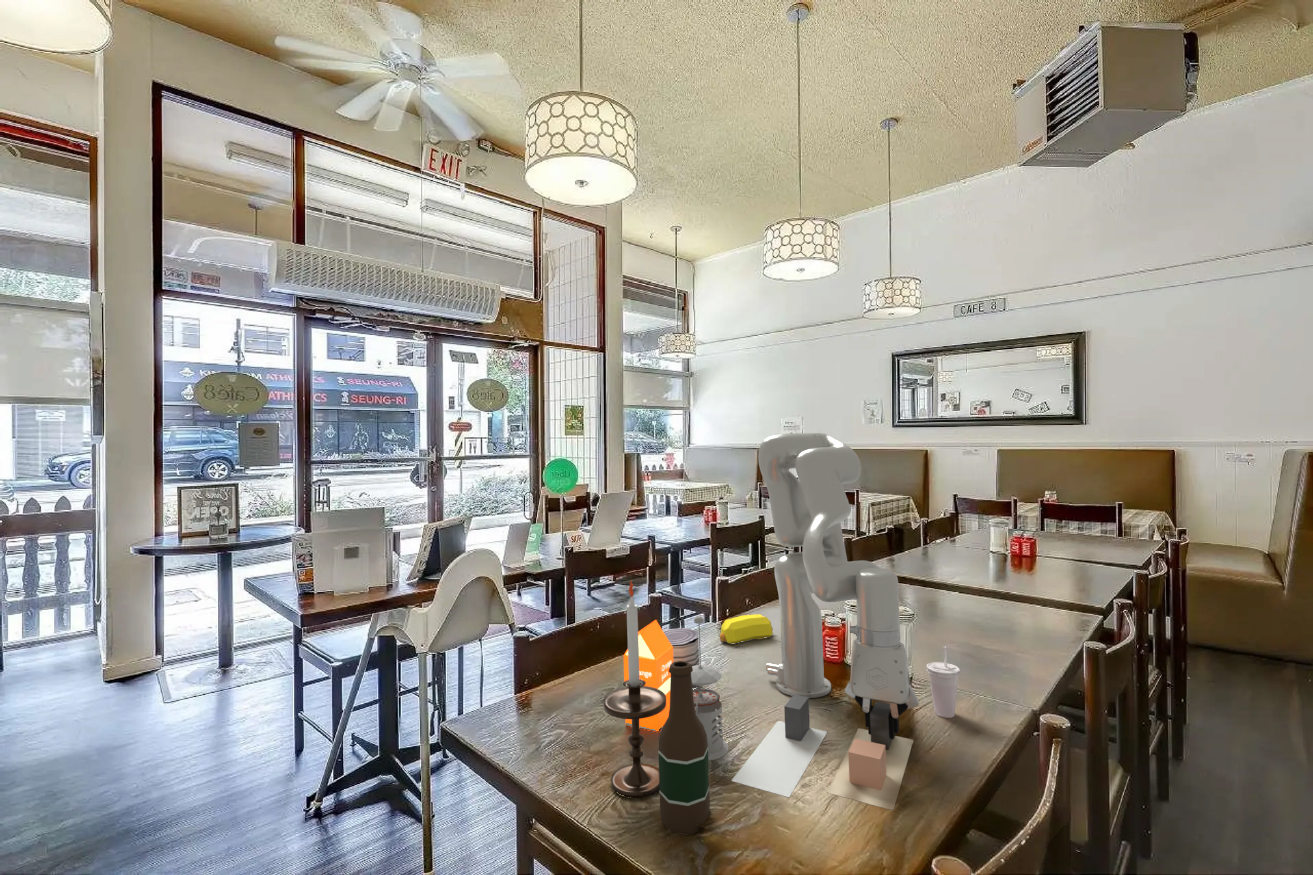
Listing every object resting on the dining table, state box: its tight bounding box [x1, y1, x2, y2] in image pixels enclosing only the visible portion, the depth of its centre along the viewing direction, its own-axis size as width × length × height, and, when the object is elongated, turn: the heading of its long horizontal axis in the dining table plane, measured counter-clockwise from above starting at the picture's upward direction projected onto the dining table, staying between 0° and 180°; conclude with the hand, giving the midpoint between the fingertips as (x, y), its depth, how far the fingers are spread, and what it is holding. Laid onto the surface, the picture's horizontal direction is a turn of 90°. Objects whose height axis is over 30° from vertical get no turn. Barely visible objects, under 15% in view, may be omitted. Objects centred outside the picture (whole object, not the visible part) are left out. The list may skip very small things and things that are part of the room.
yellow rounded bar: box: [719, 613, 774, 644], centre depth 173 cm, size 18×7×8 cm
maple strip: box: [827, 700, 915, 811], centre depth 102 cm, size 10×24×7 cm, turn 149°
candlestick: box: [603, 579, 666, 799], centre depth 101 cm, size 11×11×35 cm
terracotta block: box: [848, 739, 886, 790], centre depth 98 cm, size 5×5×5 cm
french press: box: [691, 615, 729, 761], centre depth 111 cm, size 10×12×25 cm
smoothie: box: [925, 645, 961, 719], centre depth 122 cm, size 6×6×14 cm
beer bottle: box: [657, 661, 711, 836], centre depth 90 cm, size 8×8×24 cm
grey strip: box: [731, 695, 828, 798], centre depth 106 cm, size 10×24×7 cm, turn 149°
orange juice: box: [623, 619, 673, 732], centre depth 124 cm, size 8×9×20 cm
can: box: [662, 627, 700, 689], centre depth 142 cm, size 11×11×12 cm
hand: (882, 732), depth 110 cm, fingers closed on maple strip, 3 cm apart
